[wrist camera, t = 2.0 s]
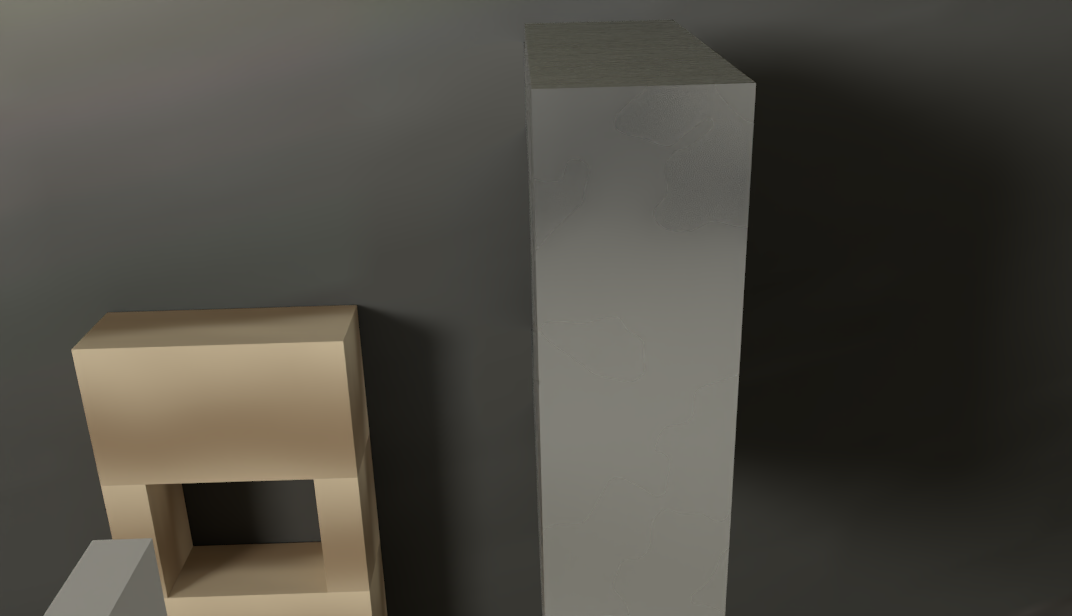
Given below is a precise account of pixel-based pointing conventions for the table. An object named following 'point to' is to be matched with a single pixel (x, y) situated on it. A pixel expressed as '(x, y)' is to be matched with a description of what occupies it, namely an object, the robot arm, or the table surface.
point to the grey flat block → (635, 312)
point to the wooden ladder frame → (237, 449)
